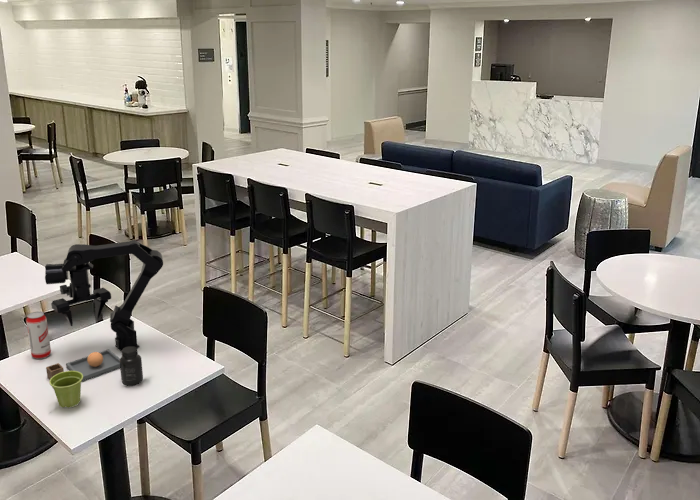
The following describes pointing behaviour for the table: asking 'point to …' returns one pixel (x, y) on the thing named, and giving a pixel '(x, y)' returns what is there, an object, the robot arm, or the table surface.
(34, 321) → the beer can
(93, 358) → the ball
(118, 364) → the tray
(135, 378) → the supplement bottle
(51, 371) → the brown wooden open cube
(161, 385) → the table surface
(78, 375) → the plant pot
